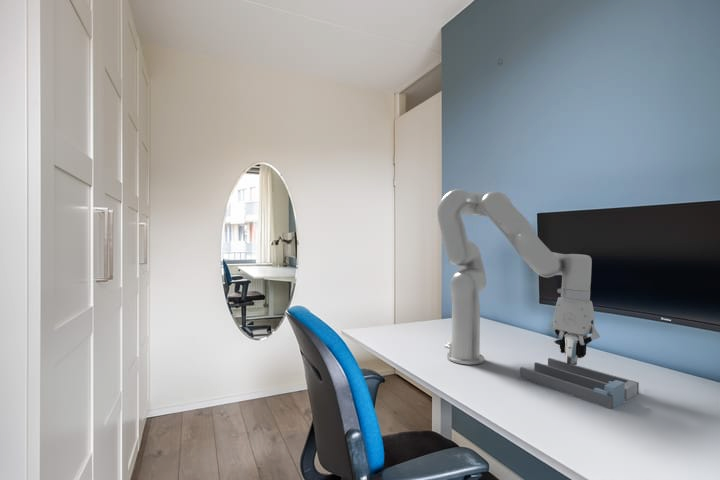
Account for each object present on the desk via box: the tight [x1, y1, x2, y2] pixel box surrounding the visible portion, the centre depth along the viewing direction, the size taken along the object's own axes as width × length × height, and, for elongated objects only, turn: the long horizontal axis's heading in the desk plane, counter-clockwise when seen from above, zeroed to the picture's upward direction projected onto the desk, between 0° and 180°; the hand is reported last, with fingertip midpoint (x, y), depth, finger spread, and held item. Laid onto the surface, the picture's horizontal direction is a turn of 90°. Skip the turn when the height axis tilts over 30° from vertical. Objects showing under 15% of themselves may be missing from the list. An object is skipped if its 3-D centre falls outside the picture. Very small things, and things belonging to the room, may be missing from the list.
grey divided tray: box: [519, 357, 640, 410], centre depth 107 cm, size 25×17×5 cm
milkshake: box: [564, 332, 580, 366], centre depth 111 cm, size 4×5×10 cm
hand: (572, 354), depth 112 cm, fingers closed on milkshake, 4 cm apart
